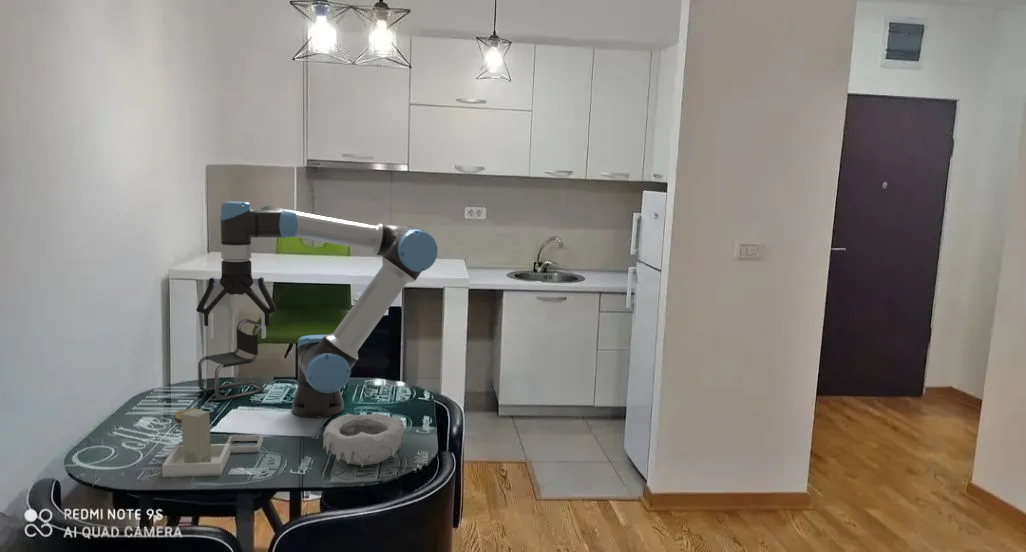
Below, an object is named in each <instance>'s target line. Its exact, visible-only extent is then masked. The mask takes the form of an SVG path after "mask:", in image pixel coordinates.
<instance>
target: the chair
mask: <svg viewBox="0 0 1026 552" xmlns="http://www.w3.org/2000/svg"><path fill="white" fill-rule="evenodd" d="M245 323H248V324H251V325H254V326H257V328H256V329H255V331H254V334H247V333H246V332H243V331H242V330H241V327H242V325H243V324H245ZM260 331H262V322H261V323H260V322H258V321H255V320H251V319H248V318H244V319H242V320H240V321H239V322H238V324H237V325H236V349H235V351H230V352H229V351H228V352H224V353H219V354H213V355H212V354H211V355H206V356H204V357H202V358H200V360H199V361H198V365H197V373H198V375H197V377H198V379H197V380H198V383H197V384H198V388H199V390H201V391H202V392H211V391H214V394H215V397H216V399H218V400H219V401H225V400H226V401H227V400H230V399H231V400H232V399H236V398H241V397H246V396H251V395H256V394H261V393H263V392H264V391H265V388H264V387H263V386H262V385H259V384H257V383H256V382H252V381H249V380H247V381H245V380H242V381H238V382H232V383H226V384H221V385H219V383H220V381H219V380H220V379H219V373H220V370H221V369H223V368H229V367H234V366H239V365H246V364H251V363H253V362H254V361H256V360H257V359H258V356H259V332H260ZM240 351H243V352H245V353H247V354H250V355H253V357H251V358H245V357H242V356H240V355H238V353H239V352H240ZM207 360H208V361H209V360H210V361H212V362H213V363H216V364H219V365H218V366H217V367H216V369H215V370H214V386H211V387H210V386H209V387H204V386H203V374H202V373H203V368H202V367H203V366H202V365H203V363H204V362H205V361H207ZM243 385H249V386H252V387H253V388H256V390H255V389H254V390H251V391H246V392H240V393H236V394H230V395H225V396H221V395H220V392H219V390H221V389H226V388H232V387H237V386H243Z"/></svg>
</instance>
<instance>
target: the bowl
mask: <svg viewBox="0 0 1026 552" xmlns="http://www.w3.org/2000/svg"><path fill="white" fill-rule="evenodd" d="M322 436H323V439H322V440H323V441H322V442H323V445H322V446H323V447H322V449H323V450H326V454H327V455H328V454H329V451H331V453H332V454H333V455H334V456H335V461H337V462H339V461H340V459H341V460H342V461H344V462H346V463H347V465H349V464H350V465H356V466H360V467H361V468H363V467H364V466H371V465H376V464H380V463H381V462H384V461H385V460H388V459H389V458H390V457H391V456H392V457H394V456H395V454H396V452H397V451H398V450H399V449H400V450H401V446H402V443H403V444H404V440H405V426H404V422H403V419H401V418H396V417H393V416H387V415H384V414H382V413H373V414H371V413H368V414H357V415H355V414H352V413H347V414H344V415H340V416H337V417H335V418H334V419H331V420H330V422H328V424H327V425H326V427H325V428H324V431H323V433H322Z"/></svg>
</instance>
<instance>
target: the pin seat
mask: <svg viewBox="0 0 1026 552" xmlns="http://www.w3.org/2000/svg"><path fill="white" fill-rule="evenodd" d="M234 441H257V443H256V444H255V445H235V446H233V445H232V444H233V443H235V442H234ZM263 441H264V435H263V434H253V435H252V434H251V435H249V434H247V435H229V437H228V439H227V441H226V442H225V444H230V454H238V453H239V454H240V453H241V454H243V453H244V454H245V453H246V454H247V453H259V452H260V450H261V447H262V445H263Z"/></svg>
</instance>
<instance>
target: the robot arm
mask: <svg viewBox="0 0 1026 552" xmlns="http://www.w3.org/2000/svg"><path fill="white" fill-rule="evenodd" d="M219 219H220V240H221V241H220V247H221V248H220V249H221V250H220V255H221V256H220V257H221V259H222V260H221V277H220V278H219V277H215V276H211V277H210V278H208V285H207V288H206V290H205V292H204V293H203V296H202V297H201V300H200V302H199V304H198V305H197V308H196V312H197V313H202V314H203V322H204V323H203V324H204V325H203V326H204V327H208V329H207V330H208V339H209V340H212V339H213V338H214V313H213V312H212V310H213V309H214V308H215V307H216V306H217V305H218V303H219V302H220V301H221V300H222V299H223V298H224V297H225V296H226V295H227V294H230V295H231V296H233V295H239V296H242V295H245V294H246V296H247V297H249V298H250V299H251V301H252V302H254V304H255V305H256V306H257V307H258V308H259V309H260V310H261V311H262V312H263V313H262V314H261V324H262V329H261V339H262V340H263V339H264V340H265V339H266V337H267V327H269V326H270V323H271V314H272V313H275V312H277V309H278V307H277V306H276V303H275V302H274V300H273V297H272V296H271V294H270V292H269V290H268V288H267V287H266V284H265V278H264V277H262V276H260V277H259V278H258V277H257V278H253V275H252V261H251V260H250V259H252V238H281V239H286V238H297V239H303V240H308V241H315V242H319V243H326V244H330V245H336V246H343V247H348V248H354V249H358V250H359V249H360V250H366V251H371V252H372V254H373V255H376V256H380V257H381V260H382V261H381V262H382V266H381V268H379V270H378V272H377V273H376V274H375V276H374V277H373V278H372V280H370V282H369V284H368V285H367V287H366V288H365V289H364V290H363V291H362V293H361V295H360V296H359V297H358V299H357V300H356V301H355V302H354V304H353V305H352V307H351V308H350V310H349V311H348V313H347V314H346V315H345V316H344V318H343V319H342V320H341V322H340V323H339V324H338V326H337V327H336V328H335V330H334V331H333V332H332V333H330V334H308V335H304V336H303V335H302V336H300V337H299V338H298V340H297V341H298V342H297V347H296V348H297V381H298V382H297V388H296V390H295V394H294V397H293V400H292V403H291V404H292V405H291V412H292V413H293V414H294V415H296V416H299V417H304V418H323V417H324V418H325V417H331V416H335V415H337V414H340V413H342V412H343V410H344V409H345V407H344V406H345V405H344V403H345V402H344V399H343V396H342V393H341V389H342V388H344V387H345V386H346V385H347V383H348V381H349V379H350V376H351V370H352V369H353V367H354V366H355V364H356V362H357V361H358V360H359V354H358V351H359V349H361V347H362V346H363V344H364V343H365V342H366V340H367V339H368V338H369V336H370V335H371V333H372V332H373V330H374V329H375V328H376V326H377V325H378V323H379V322H380V321H381V319H382V318H383V317H384V315H385V314H386V312H387V311H388V310H389V309H390V308H391V306H392V304H393V303H394V302H395V300H396V298H398V296H399V294H400V293H401V292H402V291H403V289H404V288H405V287H406V285H407V284H409V283H414V282H416V280H418V277H419V276H420V275H421V273H422V272H424V271H425V272H426V270H428V269H430V268H431V267H432V266H433V265H434V264H435V262H436V260H437V258H438V246H437V241H436V240H435V238H434V237H433V236H432V235H431V234H430V233H428V231H426V230H425V229H421V228H417V227H414V226H411V225H396V224H395V225H394V224H385V223H378V224H376V225H372V224H367V223H361V222H357V221H351V220H346V219H340V218H335V217H328V216H323V215H319V214H318V215H317V214H313V213H308V212H303V211H302V212H301V211H297V210H293V209H285V208H281V207H276V206H274V205H266V206H262V208H260V209H254V208H252V207H251V202H248V201H234V200H232V201H224V202H222V204H221V206H220V217H219ZM253 284H255V286H256V287H258V288H259V290H260V292H261V294H262V297H263V298H264V299H265V302H266V304H265V303H264V301H262V299H261V298H260V297H259V296H258V295H257V294H256V292H255V291H254V290H253V289H252V288H251V287H252V285H253ZM218 285H220V286H222V288H223V289H222V290H221V291H220V293H219V294H218V295H216V297H215V298H214V299H213V300H212V301H211V302H210V303H209V305H208V306H207V307H205V306H206V303H207V302H208V300H209V298H210V297H211V294H212V293H213V290H214V288H215V287H216V286H218Z"/></svg>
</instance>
